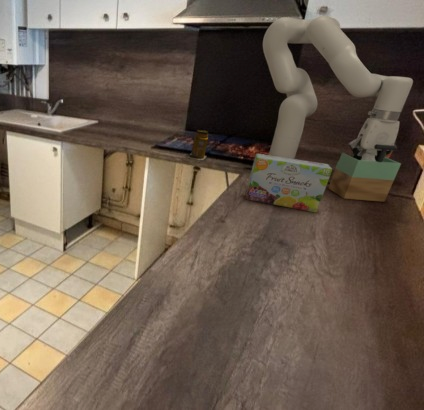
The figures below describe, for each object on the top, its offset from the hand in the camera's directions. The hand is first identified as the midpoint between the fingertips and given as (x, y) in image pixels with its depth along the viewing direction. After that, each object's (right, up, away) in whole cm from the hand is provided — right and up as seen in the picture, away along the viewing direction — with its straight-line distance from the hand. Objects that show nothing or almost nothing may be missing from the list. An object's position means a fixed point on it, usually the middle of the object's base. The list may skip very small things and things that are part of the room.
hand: (364, 166), depth 127 cm
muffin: (0, -2, +1) cm, 2 cm away
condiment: (-48, +8, +38) cm, 61 cm away
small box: (+18, -3, +21) cm, 28 cm away
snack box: (-35, -14, -8) cm, 38 cm away
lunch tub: (0, -3, 0) cm, 3 cm away
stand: (-1, -10, +3) cm, 11 cm away
